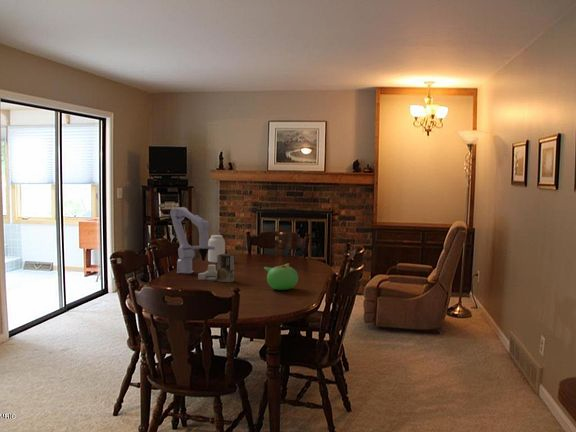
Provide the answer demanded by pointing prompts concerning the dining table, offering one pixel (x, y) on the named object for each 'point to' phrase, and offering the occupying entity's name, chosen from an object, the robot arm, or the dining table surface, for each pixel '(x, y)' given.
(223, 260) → the coffee box
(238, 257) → the dining table surface
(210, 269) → the charger
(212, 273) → the outlet plate
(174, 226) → the robot arm
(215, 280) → the phone
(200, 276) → the cable plug
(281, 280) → the green rounded lump
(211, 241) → the can
